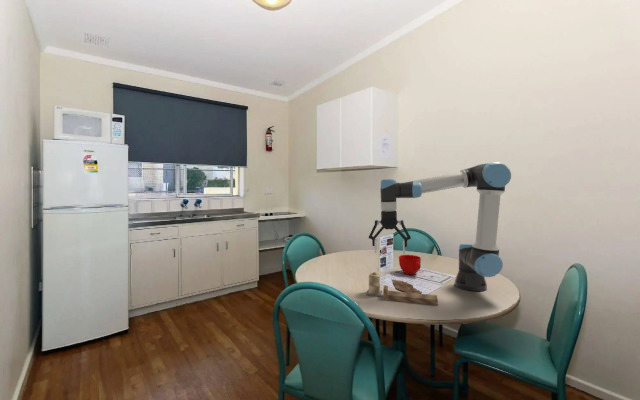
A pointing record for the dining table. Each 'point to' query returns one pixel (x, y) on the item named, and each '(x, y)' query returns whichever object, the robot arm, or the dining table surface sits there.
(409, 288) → the wooden fragment
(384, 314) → the dining table surface
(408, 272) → the ceramic cup
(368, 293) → the mat
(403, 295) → the plank
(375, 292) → the cream tall block
